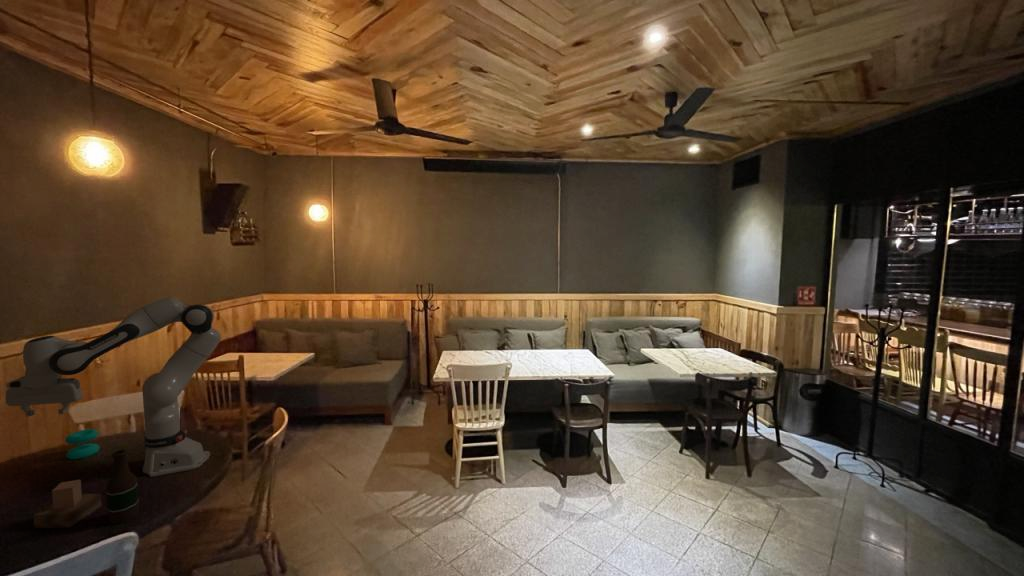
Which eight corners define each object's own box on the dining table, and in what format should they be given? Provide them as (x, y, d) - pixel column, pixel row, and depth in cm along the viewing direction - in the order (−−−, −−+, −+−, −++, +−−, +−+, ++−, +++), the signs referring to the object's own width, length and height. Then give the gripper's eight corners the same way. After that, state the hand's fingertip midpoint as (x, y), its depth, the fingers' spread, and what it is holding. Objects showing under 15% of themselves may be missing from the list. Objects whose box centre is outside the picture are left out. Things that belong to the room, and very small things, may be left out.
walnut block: (101, 506, 143) (100, 493, 142) (70, 528, 132) (69, 514, 131) (69, 507, 142) (68, 494, 141) (34, 528, 131) (33, 514, 130)
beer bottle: (122, 509, 141) (117, 446, 138) (145, 509, 141) (141, 445, 139) (101, 525, 133) (96, 457, 131) (126, 524, 134) (121, 457, 131)
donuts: (101, 431, 176) (68, 440, 167) (102, 453, 177) (70, 463, 168) (94, 426, 181) (62, 434, 173) (96, 446, 182) (64, 455, 174)
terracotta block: (82, 498, 139) (80, 479, 139) (74, 506, 135) (72, 487, 134) (62, 501, 137) (60, 482, 137) (53, 510, 133) (52, 490, 132)
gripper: (85, 375, 154) (87, 408, 155) (15, 378, 148) (19, 413, 149) (72, 380, 148) (75, 415, 149) (0, 383, 142) (3, 420, 143)
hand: (46, 414), depth 149 cm, fingers open, 8 cm apart
